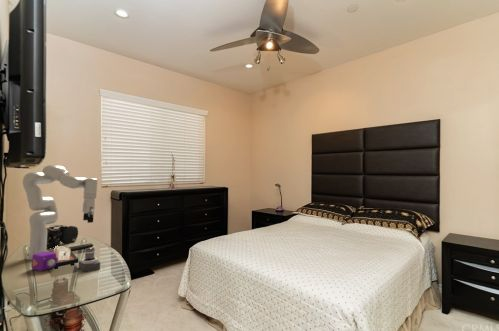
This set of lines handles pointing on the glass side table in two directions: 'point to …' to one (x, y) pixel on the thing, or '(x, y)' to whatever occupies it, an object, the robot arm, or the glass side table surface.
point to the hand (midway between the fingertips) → (88, 221)
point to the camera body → (89, 265)
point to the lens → (89, 254)
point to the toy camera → (44, 260)
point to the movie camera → (61, 235)
